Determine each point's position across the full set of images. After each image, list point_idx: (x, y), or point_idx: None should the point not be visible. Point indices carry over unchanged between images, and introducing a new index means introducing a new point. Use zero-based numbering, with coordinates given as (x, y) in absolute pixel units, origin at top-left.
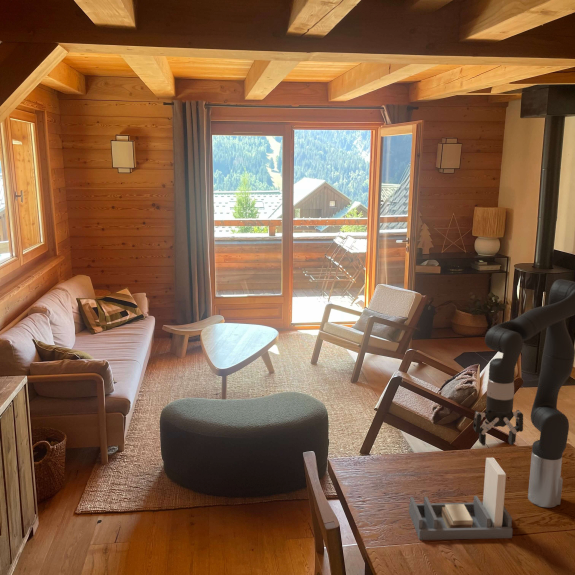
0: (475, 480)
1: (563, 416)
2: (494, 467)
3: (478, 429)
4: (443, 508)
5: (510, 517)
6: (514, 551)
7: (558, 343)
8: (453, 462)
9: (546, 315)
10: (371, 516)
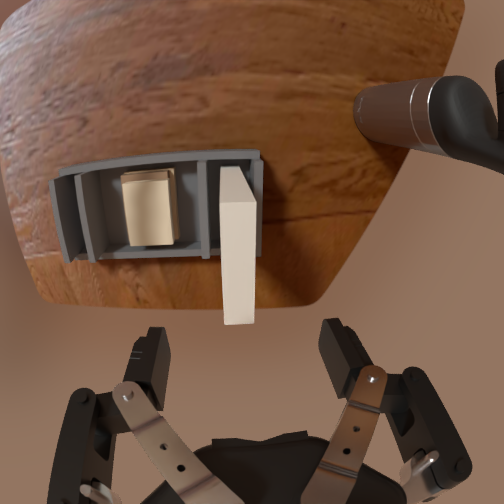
0: (261, 20)
1: None
2: (228, 282)
3: (107, 439)
4: (123, 181)
5: (258, 254)
6: None
7: None
8: None
9: None
10: (20, 177)
